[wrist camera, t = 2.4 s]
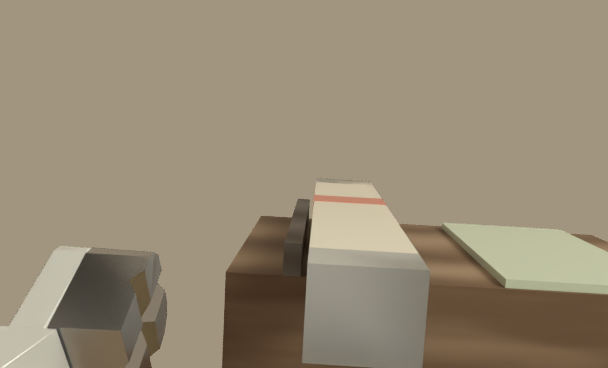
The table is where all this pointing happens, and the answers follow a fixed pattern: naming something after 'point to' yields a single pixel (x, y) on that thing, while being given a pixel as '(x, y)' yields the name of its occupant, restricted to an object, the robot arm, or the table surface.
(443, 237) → the cabinet
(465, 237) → the plate
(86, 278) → the robot arm
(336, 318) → the red-banded cream beam
